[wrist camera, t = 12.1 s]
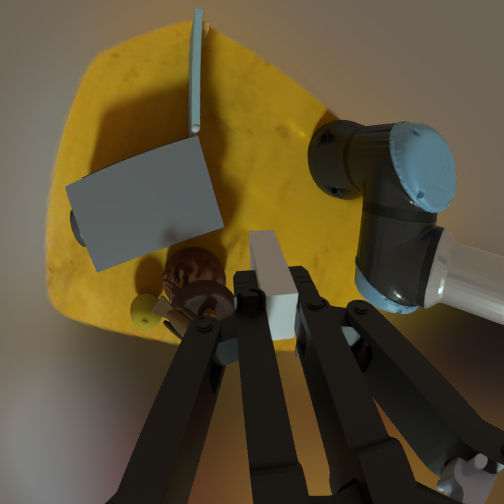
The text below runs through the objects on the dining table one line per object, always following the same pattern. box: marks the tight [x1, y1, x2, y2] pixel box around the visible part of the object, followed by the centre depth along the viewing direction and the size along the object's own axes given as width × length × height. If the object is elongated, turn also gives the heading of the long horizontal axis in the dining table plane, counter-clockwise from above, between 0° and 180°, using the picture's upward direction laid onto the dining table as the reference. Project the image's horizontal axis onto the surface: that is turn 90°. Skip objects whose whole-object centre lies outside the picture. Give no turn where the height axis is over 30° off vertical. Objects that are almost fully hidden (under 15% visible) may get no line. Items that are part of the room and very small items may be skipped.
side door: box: [188, 9, 209, 138], centre depth 32 cm, size 19×2×11 cm, turn 1°
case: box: [65, 136, 224, 272], centre depth 36 cm, size 20×12×11 cm, turn 105°
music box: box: [151, 247, 235, 340], centre depth 38 cm, size 15×11×20 cm
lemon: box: [130, 293, 162, 330], centre depth 42 cm, size 6×6×8 cm
